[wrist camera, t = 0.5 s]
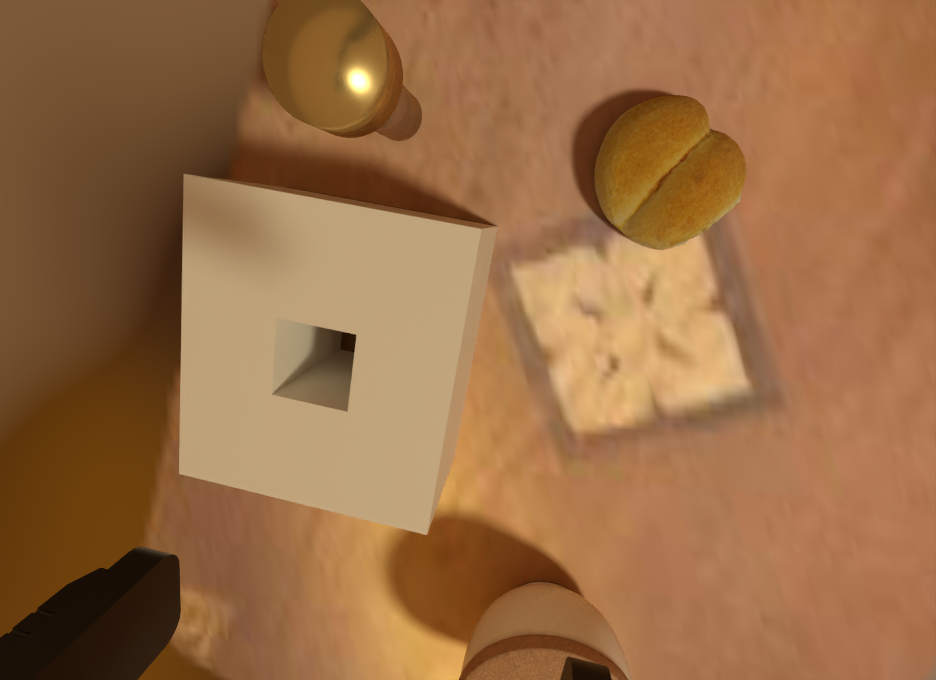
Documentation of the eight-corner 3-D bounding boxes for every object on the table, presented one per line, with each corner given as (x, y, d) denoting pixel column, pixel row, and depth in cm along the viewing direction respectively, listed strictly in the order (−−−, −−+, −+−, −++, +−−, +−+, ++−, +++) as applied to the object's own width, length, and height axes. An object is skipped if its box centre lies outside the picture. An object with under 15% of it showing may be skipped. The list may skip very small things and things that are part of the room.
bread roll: (662, 74, 30) (681, 52, 26) (756, 180, 31) (787, 174, 27) (562, 173, 32) (566, 167, 28) (652, 270, 33) (667, 277, 29)
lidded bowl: (466, 549, 40) (440, 668, 29) (622, 556, 38) (655, 686, 27) (474, 671, 43) (454, 819, 32) (619, 682, 41) (648, 844, 30)
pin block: (281, 186, 35) (183, 173, 25) (497, 226, 33) (481, 228, 24) (266, 411, 39) (179, 473, 30) (454, 455, 38) (426, 535, 28)
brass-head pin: (363, 63, 32) (265, -25, 20) (445, 76, 31) (392, -7, 20) (354, 152, 33) (258, 116, 22) (432, 165, 33) (375, 136, 21)
